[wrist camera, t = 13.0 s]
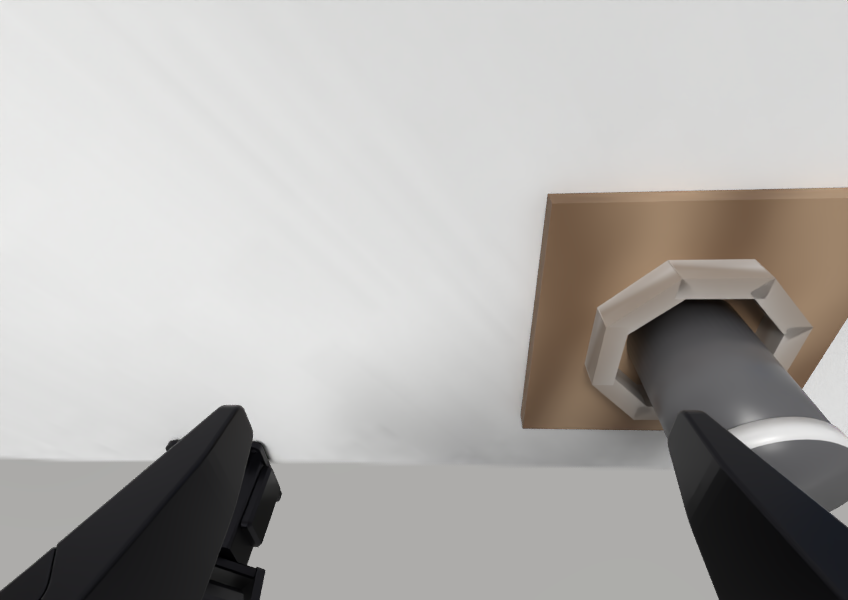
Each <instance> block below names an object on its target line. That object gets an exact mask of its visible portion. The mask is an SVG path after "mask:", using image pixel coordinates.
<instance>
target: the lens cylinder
mask: <svg viewBox="0 0 848 600" xmlns="http://www.w3.org/2000/svg"><path fill="white" fill-rule="evenodd" d="M627 351H628V354H629V356H630V358H631V361H632V363H633V365H634V367H635V369H636V371H637V374H638V376H639V378H640V380H641V382H642V384H643V386H644V389H645V391H646V393H647V395H648V397H649V399H650V402H651V404H652V406H653V408H654V410H655V412H656V415H657V417H658V419H659V421H660V423H661V425H662V428H663V430H664V432H665V434H666V436H667V438H668V435H669V433H670V430H671V428H672V426H673V423H674V421H675V419H676V416H677V414H678V413H679V412H680V411H681V410H700V411H703V412H705V413H707V414H708V415H709V416H710V417H712V418H713V419H714V420H715V421H717V422H718V423H719V424H720V425H722V426H723V427H724V428H725V429H727V430H728V431H729V432H730V433H732V434H733V435H734V436H735V437H737V438H738V439H739V440H740V441H742V442H743V443H744V444H745V445H746V446H748V447H749V448H750V449H751V450H753V451H754V452H755V453H756V454H758V455H759V456H760V457H761V458H763V459H764V460H765V461H766V462H768V463H769V464H770V465H771V466H773V467H774V468H775V469H776V470H777V471H779V472H780V473H781V474H782V475H784V476H785V477H786V478H787V479H789V480H790V481H791V482H792V483H794V484H795V485H796V486H797V487H799V488H800V489H801V490H802V491H804V492H805V493H806V494H807V495H809V496H810V497H811V498H812V499H813V500H815V501H816V502H817V503H818V504H820V505H821V506H822V507H823V508H825V509H826V510H827V511H828V512H830V511H832V510H834V509H836V508H838V507H839V506H841V505H843V504H844V503H846V502H847V501H848V438H847V437H846V436H845V434H844V433H843V432H842V431H841V430H840V429H839V428H837V427H836V426H834V425H832V424H831V423H830V422H829V421H828V420H827V418H826V417H825V416H824V415H823V414H822V412H821V411H820V410H819V409H818V408H817V406H816V405H815V404H814V403H813V402H812V401H811V399H810V398H809V397H808V396H807V395H806V393H805V392H804V391H803V390H802V389H801V388H800V386H799V385H798V384H797V383H796V382H795V380H794V379H793V378H792V377H791V376H790V374H789V373H788V372H787V371H786V370H785V369H784V367H783V366H782V365H781V364H780V363H779V361H778V360H777V359H776V358H775V357H774V355H773V354H772V353H771V352H770V351H769V350H768V348H767V347H766V346H765V345H764V344H763V342H762V341H761V340H760V339H759V338H758V337H757V335H756V334H755V333H754V332H753V331H752V329H751V328H750V327H749V326H748V325H747V323H746V322H745V321H744V320H743V319H742V318H741V316H740V315H739V314H738V313H737V312H736V310H735V309H734V308H733V307H732V306H731V305H730V304H729V303H728V302H726V301H725V300H723V299H685V300H684V301H682V302H680V303H679V304H677V305H676V306H674V307H672V308H671V309H669V310H667V311H666V312H664V313H663V314H661V315H659V316H658V317H656V318H654V319H653V320H651V321H650V322H648V323H646V324H645V325H643V326H641V327H640V328H638V329H637V330H635V331H633V332H632V333H630V334H628V337H627Z"/></svg>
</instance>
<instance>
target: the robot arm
mask: <svg viewBox="0 0 848 600" xmlns="http://www.w3.org/2000/svg"><path fill="white" fill-rule="evenodd" d="M252 440H253V430H252V427H251V425H250V422H249V420H248V417H247V415H246V413H245V410H244V408H243V407H242V406H240V405H223V406H221V407H219V408H218V409H216V410H215V411H214V412H213V413H212V414H211V415H209V416H208V417H207V418H206V419H205V420H203V421H202V422H201V423H200V424H199V425H197V426H196V427H195V428H194V429H193V430H192V431H190V432H189V433H188V434H187V435H186V436H184V437H183V438H182V439H181V440H173V441H170V442H169V443H168V445H167V446H166V451H167V452H165V453H164V454H163V455H162V456H161V457H160V458H158V459H157V460H156V461H155V462H154V463H152V464H151V465H150V466H149V467H148V468H147V469H145V470H144V471H143V472H142V473H141V474H140V475H138V476H137V477H136V478H135V479H133V480H132V481H131V482H130V483H129V484H128V485H126V486H125V487H124V488H123V489H122V490H120V491H119V492H118V493H117V494H116V495H115V496H113V497H112V498H111V499H110V500H109V501H107V502H106V503H105V504H104V505H103V506H101V507H100V508H99V509H98V510H97V511H96V512H94V513H93V514H92V515H91V516H90V517H88V518H87V519H86V520H85V521H84V522H83V523H81V524H80V525H79V526H78V527H77V528H76V529H74V530H73V531H72V532H71V533H70V534H68V535H67V536H66V537H65V538H64V539H62V540H61V541H60V542H59V543H58V544H57V547H53V548H51V549H50V550H49V551H48V552H47V553H46V554H45V555H43V556H42V557H41V558H40V559H38V560H37V561H36V562H35V563H34V564H33V565H31V566H30V567H29V568H28V569H26V570H25V571H24V572H23V573H22V574H20V575H19V576H18V577H17V578H15V579H14V580H13V581H12V582H11V583H9V584H8V585H7V586H6V587H4V588H3V589H2V590H1V591H0V600H260V595H261V589H262V585H263V580H264V575H265V570H264V569H261V568H259V567H257V568H253V567H250V566H247V563H248V560H249V557H250V554H251V551H252V549H253V547H258V546H260V544H262V541H263V538H264V536H265V533H266V530H267V527H268V524H269V521H270V518H271V515H272V512H273V509H274V506H275V503H276V502H277V501H279V500H280V498H281V495H282V493H281V491H280V486H279V484H278V482H277V479H276V477H275V474H274V472H273V469H272V468H271V466H270V463H269V461H268V458H267V456H266V453H265V451H264V448H263V446H262V445H261V444H260V443H257V442H252ZM668 448H669V452H670V455H671V459H672V463H673V466H674V470H675V474H676V477H677V481H678V485H679V488H680V492H681V496H682V499H683V503H684V507H685V510H686V514H687V517H688V520H689V523H690V526H691V528H692V531H693V534H694V537H695V539H696V542H697V544H698V547H699V550H700V552H701V555H702V557H703V560H704V562H705V565H706V568H707V570H708V572H709V575H710V578H711V580H712V583H713V585H714V588H715V590H716V593H717V596H718V598H719V600H848V527H847V526H846V525H844V524H843V523H842V522H841V521H839V520H838V519H837V518H836V517H835V516H833V515H832V514H831V513H830V512H828V511H827V510H826V509H825V508H823V507H822V506H821V505H820V504H818V503H817V502H816V501H815V500H813V499H812V498H811V497H810V496H809V495H807V494H806V493H805V492H804V491H802V490H801V489H800V488H799V487H797V486H796V485H795V484H794V483H792V482H791V481H790V480H789V479H787V478H786V477H785V476H784V475H782V474H781V473H780V472H779V471H777V470H776V469H775V468H774V467H773V466H771V465H770V464H769V463H768V462H766V461H765V460H764V459H763V458H761V457H760V456H759V455H758V454H756V453H755V452H754V451H753V450H751V449H750V448H749V447H748V446H746V445H745V444H744V443H743V442H742V441H740V440H739V439H738V438H737V437H735V436H734V435H733V434H732V433H730V432H729V431H728V430H727V429H725V428H724V427H723V426H722V425H720V424H719V423H718V422H717V421H715V420H714V419H713V418H712V417H710V416H709V415H708V414H707V413H705V412H703V411H700V410H681V411H680V412H679V413H678V414H677V416H676V419H675V421H674V423H673V426H672V428H671V430H670V433H669V435H668Z"/></svg>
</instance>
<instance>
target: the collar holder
mask: <svg viewBox="0 0 848 600" xmlns="http://www.w3.org/2000/svg"><path fill="white" fill-rule="evenodd" d="M685 299H723V300H725V301H726V302H728V303H729V304H730V305H731V306H732V307H733V308H734V309H735V310H736V312H737V313H738V314H739V315H740V316H741V318H742V319H743V320H744V321H745V322H746V323H747V325H748V326H749V327H750V328H751V329H752V331H753V332H754V333H755V334H756V335H757V337H758V338H759V339H760V340H761V341H762V342H763V344H764V345H765V346H766V347H767V348H768V350H769V351H770V352H771V353H772V354H773V355H774V357H775V358H776V359H777V360H778V361H779V363H780V364H781V365H782V366H783V367H784V369H785V370H786V371H787V372H788V373H789V374H790V376H791V377H792V378H793V379H794V380H795V382H796V383H797V384H798V385H799V386H800V388H801V389H802V388H803V387H804V385H805V384H806V382H807V380H808V379H809V377H810V376H811V374H812V373H813V371H814V369H815V368H816V366H817V365H818V363H819V362H820V360H821V359H822V357H823V355H824V354H825V352H826V351H827V349H828V348H829V346H830V344H831V343H832V341H833V340H834V338H835V337H836V335H837V333H838V332H839V330H840V329H841V327H842V326H843V324H844V323H845V321H846V319H847V318H848V188H808V189H760V190H712V191H664V192H616V193H569V194H548V197H547V205H546V213H545V221H544V229H543V237H542V245H541V254H540V262H539V270H538V278H537V286H536V294H535V302H534V311H533V319H532V327H531V335H530V343H529V351H528V359H527V368H526V376H525V384H524V392H523V400H522V408H521V420H522V427H523V428H529V429H599V430H663V428H662V425H661V423H660V421H659V419H658V417H657V415H656V412H655V410H654V408H653V406H652V404H651V402H650V399H649V397H648V395H647V393H646V391H645V389H644V386H643V384H642V382H641V380H640V378H639V376H638V374H637V371H636V369H635V367H634V365H633V363H632V361H631V358H630V356H629V354H628V351H627V337H628V334H630V333H632V332H633V331H635V330H637V329H638V328H640V327H641V326H643V325H645V324H646V323H648V322H650V321H651V320H653V319H654V318H656V317H658V316H659V315H661V314H663V313H664V312H666V311H667V310H669V309H671V308H672V307H674V306H676V305H677V304H679V303H680V302H682V301H684V300H685Z"/></svg>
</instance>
